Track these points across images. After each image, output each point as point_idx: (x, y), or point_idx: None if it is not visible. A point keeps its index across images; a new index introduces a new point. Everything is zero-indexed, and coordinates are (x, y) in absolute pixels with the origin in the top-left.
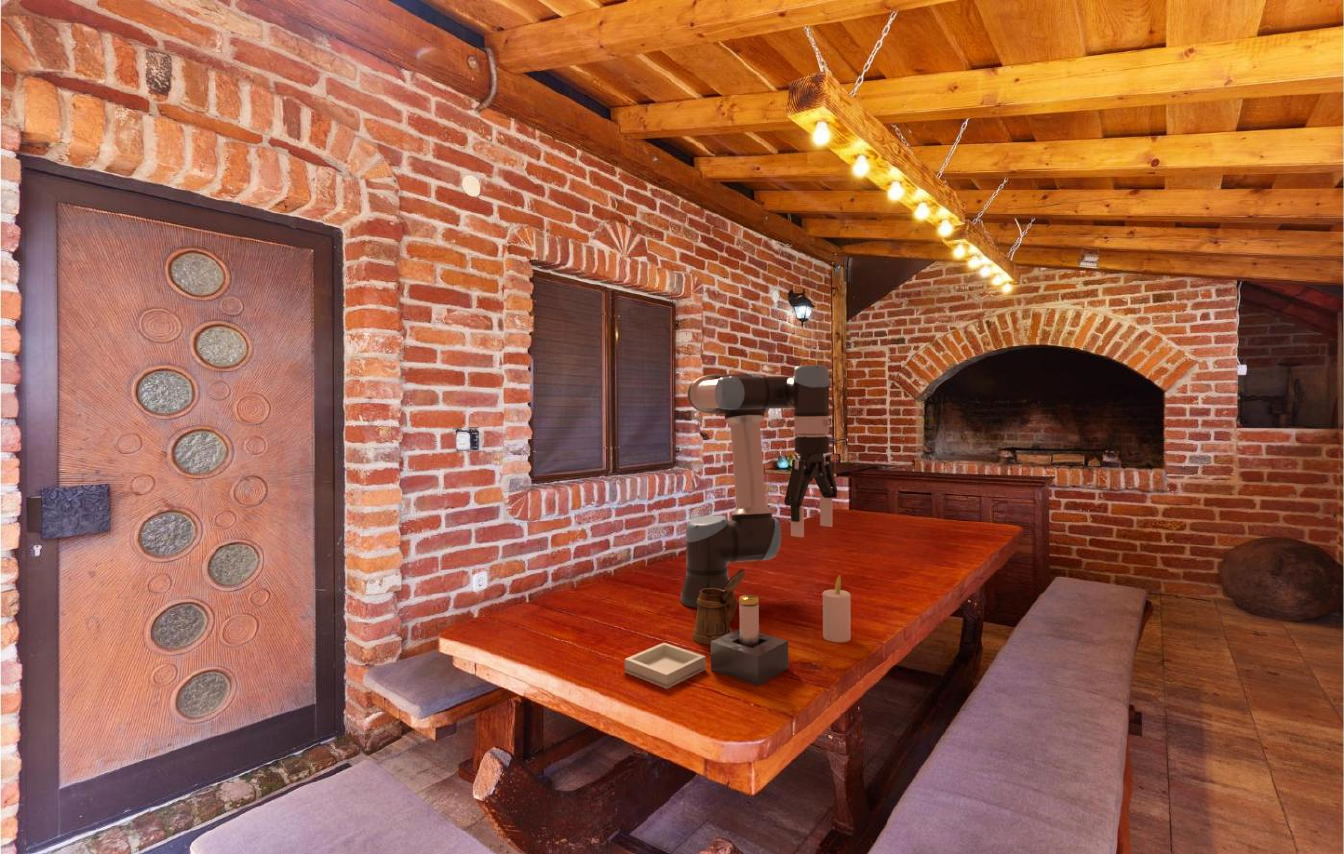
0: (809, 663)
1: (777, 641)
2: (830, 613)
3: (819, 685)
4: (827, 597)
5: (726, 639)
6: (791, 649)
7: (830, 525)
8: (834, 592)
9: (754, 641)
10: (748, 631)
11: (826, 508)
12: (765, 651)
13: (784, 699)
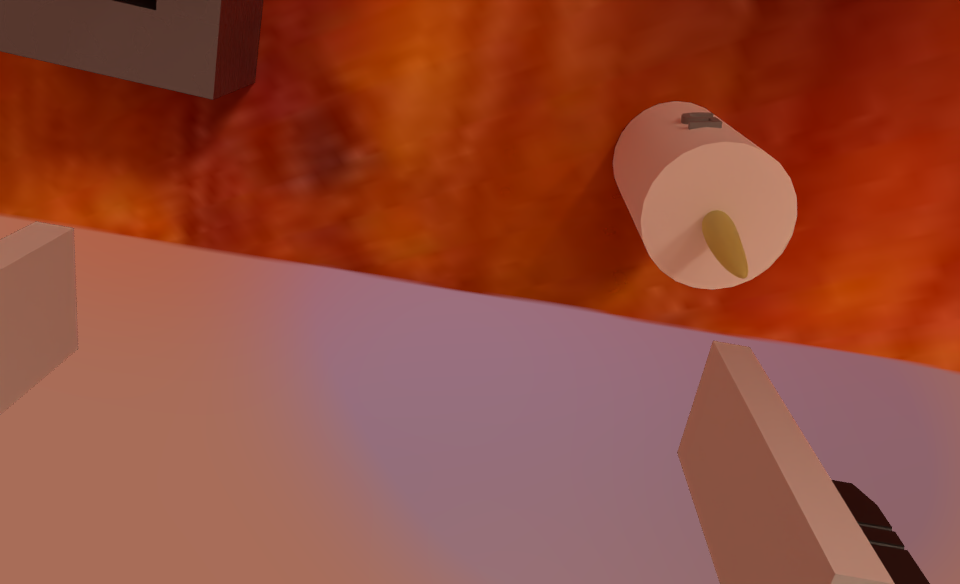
0: (346, 140)
1: (174, 58)
2: (630, 180)
3: (190, 227)
4: (650, 183)
5: None
6: (446, 23)
7: (681, 454)
8: (735, 202)
9: None
10: None
11: (747, 542)
12: (40, 53)
13: (24, 156)
